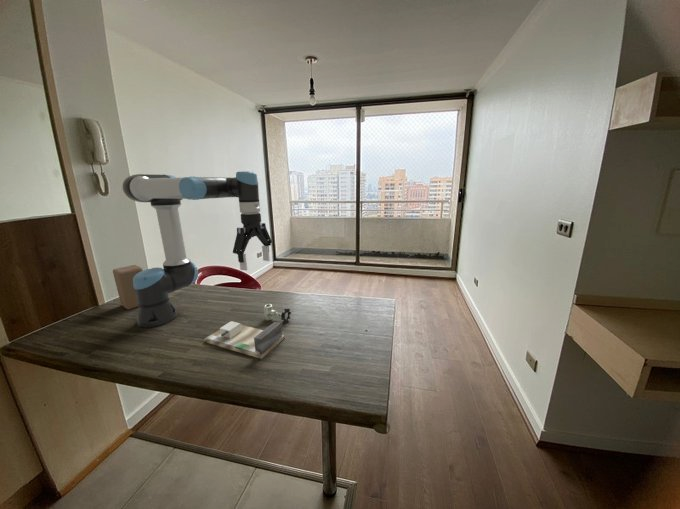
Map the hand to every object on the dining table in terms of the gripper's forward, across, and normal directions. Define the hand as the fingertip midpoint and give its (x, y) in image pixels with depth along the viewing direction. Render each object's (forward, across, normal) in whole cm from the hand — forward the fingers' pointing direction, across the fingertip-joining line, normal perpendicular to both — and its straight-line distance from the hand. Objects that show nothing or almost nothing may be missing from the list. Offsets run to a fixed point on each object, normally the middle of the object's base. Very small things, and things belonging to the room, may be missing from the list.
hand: (255, 265), depth 107 cm
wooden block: (+28, -7, +76) cm, 82 cm away
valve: (+28, +7, -3) cm, 29 cm away
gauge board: (+28, -11, -1) cm, 30 cm away
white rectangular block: (+27, -13, +6) cm, 30 cm away
